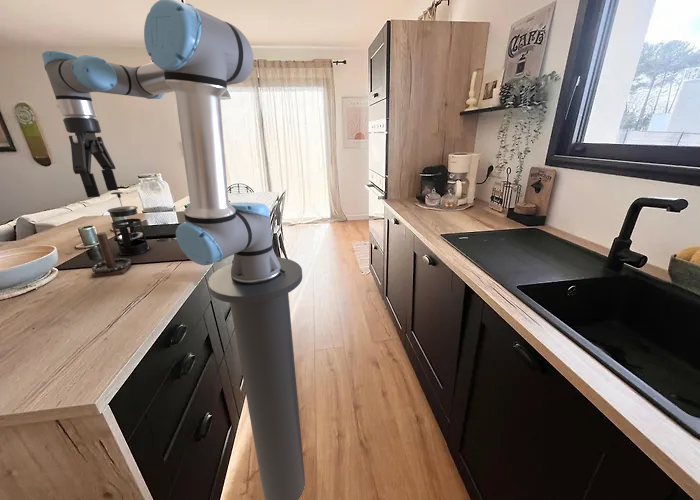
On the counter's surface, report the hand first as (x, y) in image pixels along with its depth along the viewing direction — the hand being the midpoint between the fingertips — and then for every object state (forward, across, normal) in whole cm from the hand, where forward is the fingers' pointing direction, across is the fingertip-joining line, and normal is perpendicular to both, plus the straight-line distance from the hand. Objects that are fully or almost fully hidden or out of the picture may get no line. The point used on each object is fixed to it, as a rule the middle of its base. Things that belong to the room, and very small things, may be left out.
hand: (104, 193), depth 88 cm
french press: (+25, -17, -3) cm, 30 cm away
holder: (+25, +1, -4) cm, 25 cm away
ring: (+24, 0, -4) cm, 24 cm away
